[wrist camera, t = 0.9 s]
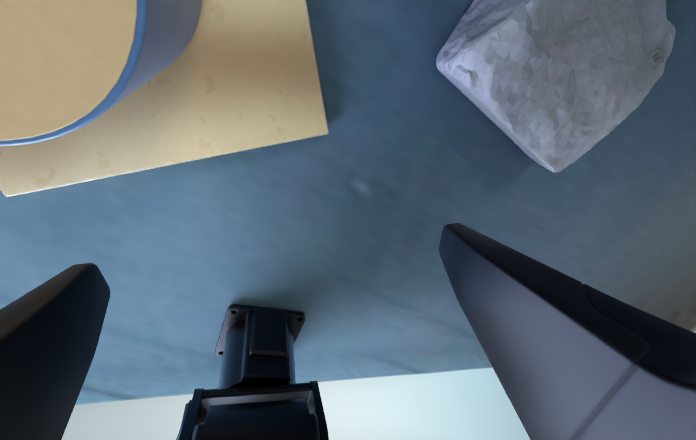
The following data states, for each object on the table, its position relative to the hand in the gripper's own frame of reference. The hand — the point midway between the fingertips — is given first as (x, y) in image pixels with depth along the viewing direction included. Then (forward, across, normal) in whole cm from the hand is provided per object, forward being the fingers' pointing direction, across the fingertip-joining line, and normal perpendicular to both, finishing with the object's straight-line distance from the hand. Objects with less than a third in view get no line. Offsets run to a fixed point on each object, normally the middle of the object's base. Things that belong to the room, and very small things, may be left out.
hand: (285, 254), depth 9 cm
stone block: (+13, -16, -3) cm, 21 cm away
